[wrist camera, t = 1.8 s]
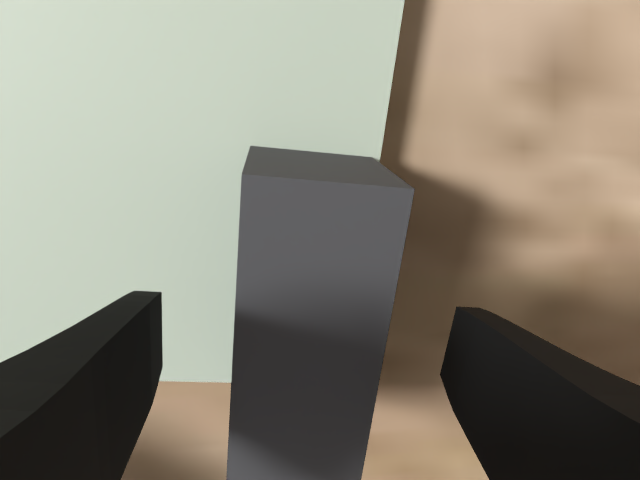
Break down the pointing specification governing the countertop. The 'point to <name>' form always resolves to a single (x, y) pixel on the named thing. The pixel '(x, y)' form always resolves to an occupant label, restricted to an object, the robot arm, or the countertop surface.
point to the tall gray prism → (311, 311)
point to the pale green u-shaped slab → (165, 149)
